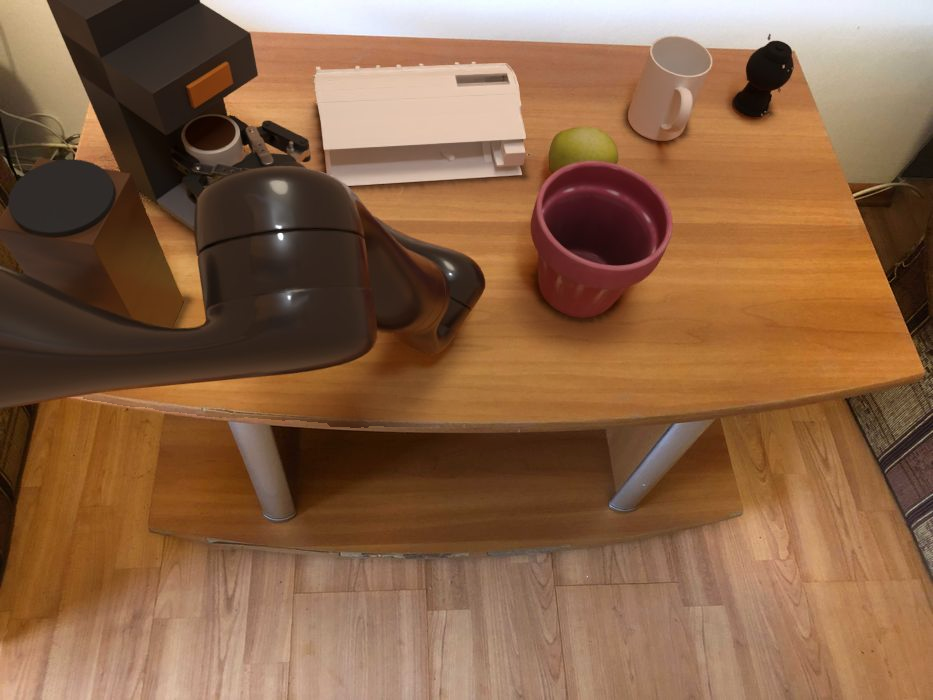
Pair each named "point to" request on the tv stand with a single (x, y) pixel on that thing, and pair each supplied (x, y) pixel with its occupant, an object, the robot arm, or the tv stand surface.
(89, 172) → the coaster
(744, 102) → the gumball machine
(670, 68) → the mug
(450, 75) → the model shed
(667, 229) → the flower pot
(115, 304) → the brown box
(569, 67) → the tv stand surface
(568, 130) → the apple
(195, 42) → the coffee machine
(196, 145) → the white cup
